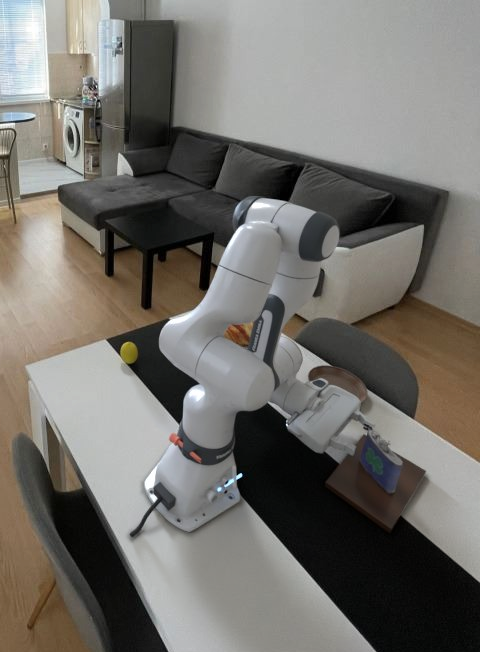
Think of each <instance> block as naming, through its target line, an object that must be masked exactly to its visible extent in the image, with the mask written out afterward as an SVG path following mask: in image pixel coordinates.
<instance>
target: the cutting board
mask: <svg viewBox="0 0 480 652" xmlns="http://www.w3.org/2000/svg"><path fill="white" fill-rule="evenodd" d="M366 436H367V434H365V433H364V434H362V436H361V437H360V438H359V440H358V441H357V442H356V443H355V444H354V445H355V446H356V447H357V450H356V452H355V454H354V455H353V456H352V455H350V454H349V453H347V454H346V456H345V457H344V458H343V460H342V461H341V462H340V463H339V464H338V466H337V467H336V468H335V469H334V471H333V472H332V473H331V474H330V475H329V477H328V478H327V479H326V481H325V484H324V487H325V488H326V489H328V490H329V491H330V492H332V493H333V494H334V495H336V496H337V497H339V498H340V499H341V500H342V501H344V502H346V503H347V504H348V505H350V506H351V507H353V508H354V509H355V510H357V511H358V512H359V513H361V514H363V515H364V516H365V517H367V519H369V520H370V521H372V522H373V523H375V524H376V525H377V526H379V527H380V528H381V529H383V530H384V531H386V532H387V533H388V534H391V533H392V531H393V530H394V528H395V526H396V524H397V523H398V522H399V520H400V518H401V516H402V515H403V513H404V512H405V510H406V508H407V506H408V505H409V503H410V501H411V499H412V498H413V497H414V495H415V493H416V491H417V489H418V488H419V486H420V485H421V483H422V481H423V479H424V478H425V476H426V473H427V470H426V469H424V468H422V467H420V466H419V465H417V464H415V463H414V462H413V461H411V460H409V459H407V458H405V457H403V456H402V455H400V454H399V453H397V452H395V451H393V452H394V454H396V455H397V456H398V457H399V458H400V459H401V460H402V461H403V467H402V469H401V472H400V475H399V478H398V481H397V485H396V489H395V492H394V493H391V492H390V493H391V494H389V493H387V492H385V491H384V490H383V489H382V488H380V486H379V485H378V484H377V483H376V482H375V481H374V480H373V479H372V477H371V476H370V475H369V474H368V473H367V472H366V470H365V468H364V467H363V465H362V464H361V462H360V456H361V453H362V449H363V446H364V443H365V439H366Z"/></svg>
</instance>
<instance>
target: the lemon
mask: <svg viewBox="0 0 480 652" xmlns="http://www.w3.org/2000/svg"><path fill="white" fill-rule="evenodd" d="M138 356H139V351H138V348H137V346H136V344H135V343H133V342H132V341H127V342H124V343H123V344H122V345H121V348H120V358H121V360H122V361H123V362H124V363H125V364H129V365H131V364H134V363H135V362H136V361H137V359H138Z"/></svg>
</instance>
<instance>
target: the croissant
mask: <svg viewBox="0 0 480 652" xmlns="http://www.w3.org/2000/svg"><path fill="white" fill-rule="evenodd" d="M253 323H254V322H252V323H248V324H231V325H230V326H229V327H228V328H227V330H226V332H225V334H224V337H225V338H227V339H229V340H231V341H232V342H234V343H236V344H238V345H240V346H246V345H247V346H248V344H249V340H250V336H251V332H252V328H253Z"/></svg>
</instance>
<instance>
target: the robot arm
mask: <svg viewBox="0 0 480 652" xmlns="http://www.w3.org/2000/svg"><path fill="white" fill-rule="evenodd" d="M232 228H233V232H234V233H233V235H232V236H231V238H230V240H229V241H228V244H227V246H226V247H225V250H224V251H223V254H222V255H221V257H220V260H219V263H218V265H217V268H216V271H215V274H214V276H213V278H212V281H211V283H210V285H209V287H208V290H207V291H206V294H205V296H203V297H204V298H203V299H202V300H201V302H200V303H199V304H198V305H197V306H196V307H195V308H194V309H192V310H191V311H189V312H187V313H186V314H184V315H181V316H176V317H174V318H172V319H170V320H168V321H167V322H166V323H165V324H164V325H163V327H162V329H161V331H160V334H159V338H158V347H159V350H160V352H161V353H162V355H163V356H164V357H165V358H166V359H167V360H168V361H169V362H170V363H171V364H172V365H173V366H174V367H176V368H177V369H178V370H180V371H181V372H183V373H185V374H186V375H188V376H189V377H190V378H191V379H193V380H194V381H196V382H197V383H198V384H196V385H194V386H191V387H190V388H189V390H187V391H186V393H185V395H184V398H183V404H182V406H183V408H182V417H181V421H180V423H179V426H178V430H177V433H175V432H172V433H171V434H170V435H169V437H168V441H169V442H170V445H169V446H168V448H167V450H166V451H165V452H164V454H163V456H162V458H161V459H160V461H158V463H157V464H156V465H155V467H154V468H153V470H151V473H149V475H148V476H147V477H146V479H145V480H144V484H143V486H144V491H145V494H146V496H147V498H148V500H149V501H150V503H151V504H152V505H151V506H150V507H149V508H148V509H147V510H146V512H145V513H144V515H143V516H142V518H141V520H140V522H139V524H138V525H137V526H136V528H134V529H133V530H132V531H131V532H129V536H130V538H133V537H135V536H136V535H137V534H139V532H140V531H141V530H142V529H143V527H144V525H145V524H146V522H147V519H148V518H149V516H150V515H151V514H152V512H153V511H154V510H155V509H156V510H157V512H158V513H159V514H160V515H161V516H163V518H165V519H166V520H167V521H168V522H169V523H170V524H171V525H173V526H175V527H176V528H177V529H179V530H182V531H184V532H187V533H190V532H193V531H195V530H196V529H198V528H200V527H201V526H203V525H204V524H206V523H208V522H209V521H211V520H213V519H214V518H215V517H217V516H219V515H220V514H222V513H224V512H226V511H227V510H229V509H230V508H232V507H233V506H235V505H237V504H238V503H239V502H240V501H241V493H240V490H239V488H238V484H237V483H238V481H237V480H238V479H240V478H242V477H243V474H242V473H239V474H238V475H237V464H236V461H235V456H234V449H235V443H236V433H235V422H236V416H237V414H238V413H239V412H253V411H257V410H259V409H261V408H263V407H264V406H266V405H267V404H268V403H271V404H274V405H276V406H278V408H279V409H280V410H282V411H283V412H284V413H285V414H287V415H289V416H290V417H289V418H287V420H286V421H285V426H286V428H287V431H288V432H289V433H291V434H293V435H294V436H295V437H296V438H297V439H298V440H299V441H300V442H301V443H303V444H304V445H305V446H307V447H308V448H309V449H310V450H312V451H313V452H315V453H317V454H324V453H325V451H326V450H327V449H328V448H329V447H330V448H332V449H334V450H337V451H342V452H345V453H347V454H348V453H349V454H350V455H352V456H353V455H354V454H355V452H356V450H357V447H356V446H355V445H356V444H353V443H351V442H350V441H348V442H343V441H340V440H339V438H338V436H339V435H340V434H341V433H342V432H343V431H344V430H345V428H346V427H347V426H348V425H349V424H350V422H351V421H352V420H353V421H355V422H359V423H360V424H361V425H362V426H363V427H362V429H363V430H365V431H367V432H368V431H369V430H373V431H375V428H376V424H375V423H374V422H372V421H370V420H369V419H367V417H366V416H365V414H364V413H362V411H360V409H361V405H362V403H361V401H360V400H359V399H358V398H357V397H356V396H355V395H353V394H351V393H349V392H347V391H346V390H344V389H342V388H340V387H337V386H334V385H328V381H326V380H325V379H322V378H320V379H317V380H314V381H310V382H309V381H305V382H303V381H301V380H300V379H298V378H297V374H298V372H299V371H300V369H301V367H302V365H303V361H304V358H303V357H304V356H303V353H302V351H301V349H300V347H299V346H298V345H297V344H296V343H295V341H293V340H291V339H290V338H288V337H286V336H282V332H283V330H284V328H285V327H286V325H287V323H288V322H289V321H290V319H292V318H293V316H294V315H296V313H298V312H299V311H300V310H301V309H302V308H303V307H304V306H305V305H306V304H307V303H308V302H310V300H311V299H312V297H313V296H314V293H315V291H316V289H317V286H318V283H319V279H320V274H321V267H322V261H325V260H327V259H329V258H330V257H331V256H332V255H333V253H334V252H335V250H336V248H337V246H338V244H339V241H340V237H341V236H340V235H341V229H340V225H339V224H338V222H337V219H335V218H334V217H333V216H331V215H329V214H327V213H326V212H325V213H324V212H322V211H315V210H314V209H313V210H312V209H310V208H307V207H304V206H302V205H298V204H294V203H292V202H290V201H286V200H280V199H273V198H266V197H265V196H260V195H259V196H258V195H254V196H253V195H250V196H247V197H245V198H244V199H242V200H240V202H238V204H237V206H236V207H235V209H234V211H233V215H232ZM252 322H254V323H253V328H252V332H251V336H250V340H249V344H248V345H247V347H246V348H245V347H243V345H238V344H236V343H234V342H232V341H231V340H229V339H227V338H225V337H224V334H225V332H226V330H227V328H228V327H229V326H230V325H231V324H248V323H252Z"/></svg>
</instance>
